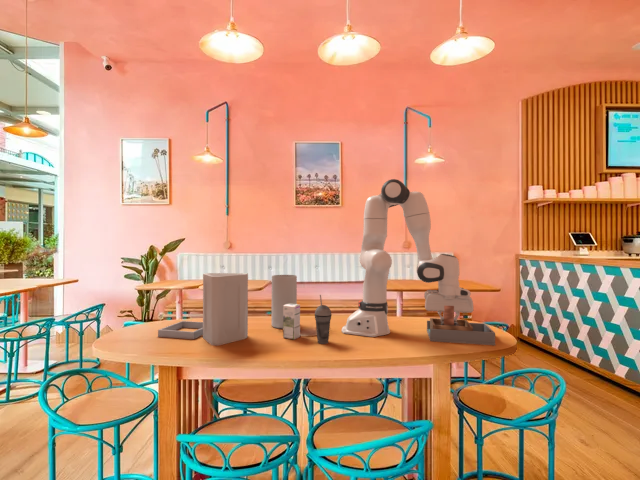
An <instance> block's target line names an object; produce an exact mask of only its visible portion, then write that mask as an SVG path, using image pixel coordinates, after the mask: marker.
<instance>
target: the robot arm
mask: <svg viewBox="0 0 640 480" xmlns="http://www.w3.org/2000/svg"><path fill="white" fill-rule="evenodd" d="M395 206H400V207H401V209H402V211H403V215H404V220H405V223H406V224H405V225H406V228H407V229H408V232H409V234H410V236H411V238H412V239H413V240H414V244H415V248H416V253H417V258H418V261H417V265H416V273H417V276H418V279H419V280H420V281H421V282H423V283H427V284H430V283H435V282H437V283H438V284H437V289H427V290H426V291H424V294H423V295H424V300H425V301H424V308H425V310H426V311H428V312H431V311H432V312H437V314H438V315H439V319H440V321H444V317H443V316H442V312H443V311H444V306H454V313H455V315H454V322H457V319H458V318H459V316H460V313H468V314H469V313H470V314H471V313H473V312H474V300H473V299H472V297H471V291H470V290H468V289H467V288H464V287H460V282H459V279H460V278H459V276H460V263H459V259H458V258H457V257H456V256H455V255H453V254H446V253H441V254H439V255H438V256H436V257H434V258H433V257H432V252H431V251H432V250H431V247H430V246H431V244H430V233H431V230H432V229H431V227H432V226H431V225H432V224H431V215H430V210H429V206H428V203H427V200H426V198H425V195H424V194H423V192H420V191H416V190H415V191H410V190H409V188H408V187H407V186H406V185H405V184H404V183H403V181H401V180H399V179H395V178H392V179H388V180H387V181H386V182H384V183H383V185H382V187H381V191H380V194H377V195H371V196H368V198H367V199H366V201H365V204H364V210H363V231H362V233H363V234H362V242H361V250H360V255H359V263H360V265H361V267H362V268H363V269H364V270H365V275H364V280H363V284H362V300H359V301H358V307H357V308H358V309H356V311H354V312H353V313H351V314H350V315H349V316H348V317H347V319H346V323H345V325H344V326H342V328H341V333H342V334H348V335H353V336H354V335H356V336H363V337H371V338H373V337H378V336H384V335H385V336H387V335H389V334H390V333H391V330H390V327H389V321H388V312H389V309H388V307H389V306H388V305H389V304H388V301H387V291H388V289H387V288H388V287H387V286H388V279H389V274H390V269H391V267H392V264H393V259H392V256H391V255H390V254H389V253H388V252H387V251H386V250H384V248H385V243H386V239H387V237H388V211H389V208H392V207H393V208H394V207H395Z"/></svg>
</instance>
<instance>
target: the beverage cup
mask: <svg viewBox="0 0 640 480" xmlns="http://www.w3.org/2000/svg"><path fill="white" fill-rule="evenodd" d="M319 300H320V305H319V306H317V307H316V308H315V310H314V319H315V329H316V338H317V339H316V340H317V343H318V344H321V345H326V344H329V339H330V328H331V319H332V315H333V314H332V311H331V309H330V307H328V306H327V305H324V304H323V301H322V294H319Z"/></svg>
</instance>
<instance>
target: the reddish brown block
mask: <svg viewBox="0 0 640 480" xmlns="http://www.w3.org/2000/svg"><path fill="white" fill-rule="evenodd" d="M442 313H443V314H442V315H443V316H442V317H444V321H443V323H444V325H454V317H455V312H454V306H444V311H442Z"/></svg>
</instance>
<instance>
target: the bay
mask: <svg viewBox="0 0 640 480" xmlns="http://www.w3.org/2000/svg"><path fill="white" fill-rule="evenodd" d="M469 323H470V325H471V326H472V327H473V331H461V330H444V329H430V320H426V332H427V334H428V339H429V342H438V343H451V344H452V343H455V344H466V345H467V344H468V345H469V344H470V345H473V344H474V345H483V346H484V345H485V346H496V332H495V331H494V330H493V329H492V328H491V327H489V326H488V325H487V324H486V323H484V322H483V323H481V322H469Z"/></svg>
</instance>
